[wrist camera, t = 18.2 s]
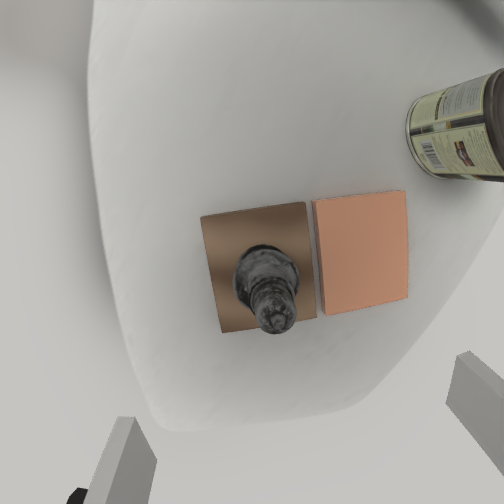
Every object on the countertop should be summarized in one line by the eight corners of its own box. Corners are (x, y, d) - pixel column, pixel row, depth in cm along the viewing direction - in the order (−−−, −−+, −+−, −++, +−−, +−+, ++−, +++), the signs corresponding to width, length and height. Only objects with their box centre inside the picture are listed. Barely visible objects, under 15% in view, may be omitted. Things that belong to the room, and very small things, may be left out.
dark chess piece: (301, 251, 30) (340, 296, 19) (280, 305, 32) (305, 373, 20) (243, 233, 30) (249, 269, 18) (224, 289, 31) (220, 354, 19)
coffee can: (477, 127, 30) (559, 119, 16) (453, 194, 32) (541, 209, 18) (420, 77, 28) (500, 43, 15) (392, 147, 30) (478, 137, 16)
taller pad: (311, 200, 31) (315, 201, 29) (398, 190, 31) (404, 190, 30) (322, 310, 34) (325, 315, 32) (401, 293, 34) (407, 297, 32)
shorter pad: (201, 216, 31) (200, 218, 29) (302, 201, 31) (305, 202, 29) (222, 326, 33) (222, 333, 32) (313, 312, 34) (316, 317, 32)
